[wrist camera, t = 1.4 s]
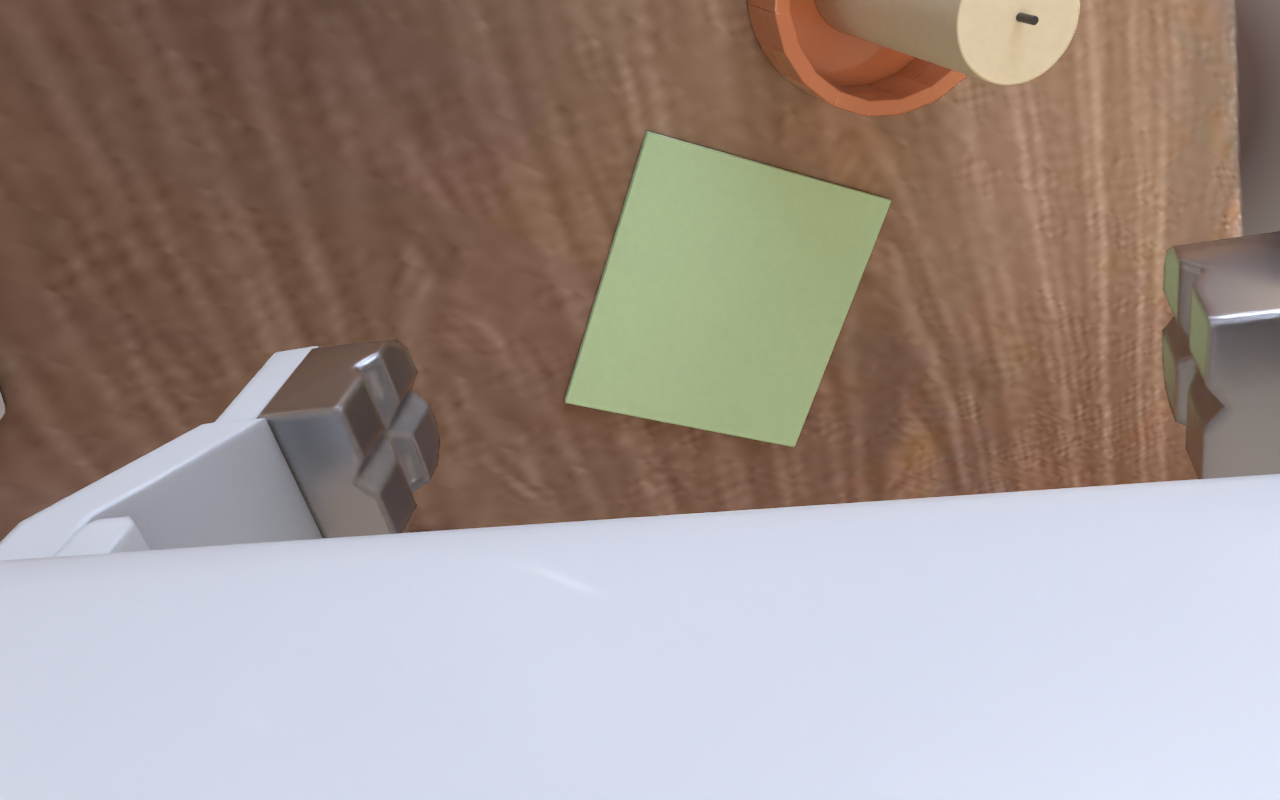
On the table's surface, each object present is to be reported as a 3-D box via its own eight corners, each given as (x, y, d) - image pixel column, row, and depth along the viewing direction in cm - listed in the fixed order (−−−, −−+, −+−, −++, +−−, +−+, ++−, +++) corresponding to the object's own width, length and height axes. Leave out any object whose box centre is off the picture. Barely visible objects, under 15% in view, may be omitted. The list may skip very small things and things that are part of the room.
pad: (646, 130, 51) (648, 132, 51) (888, 198, 56) (892, 200, 55) (564, 400, 56) (565, 403, 56) (792, 444, 60) (794, 447, 60)
